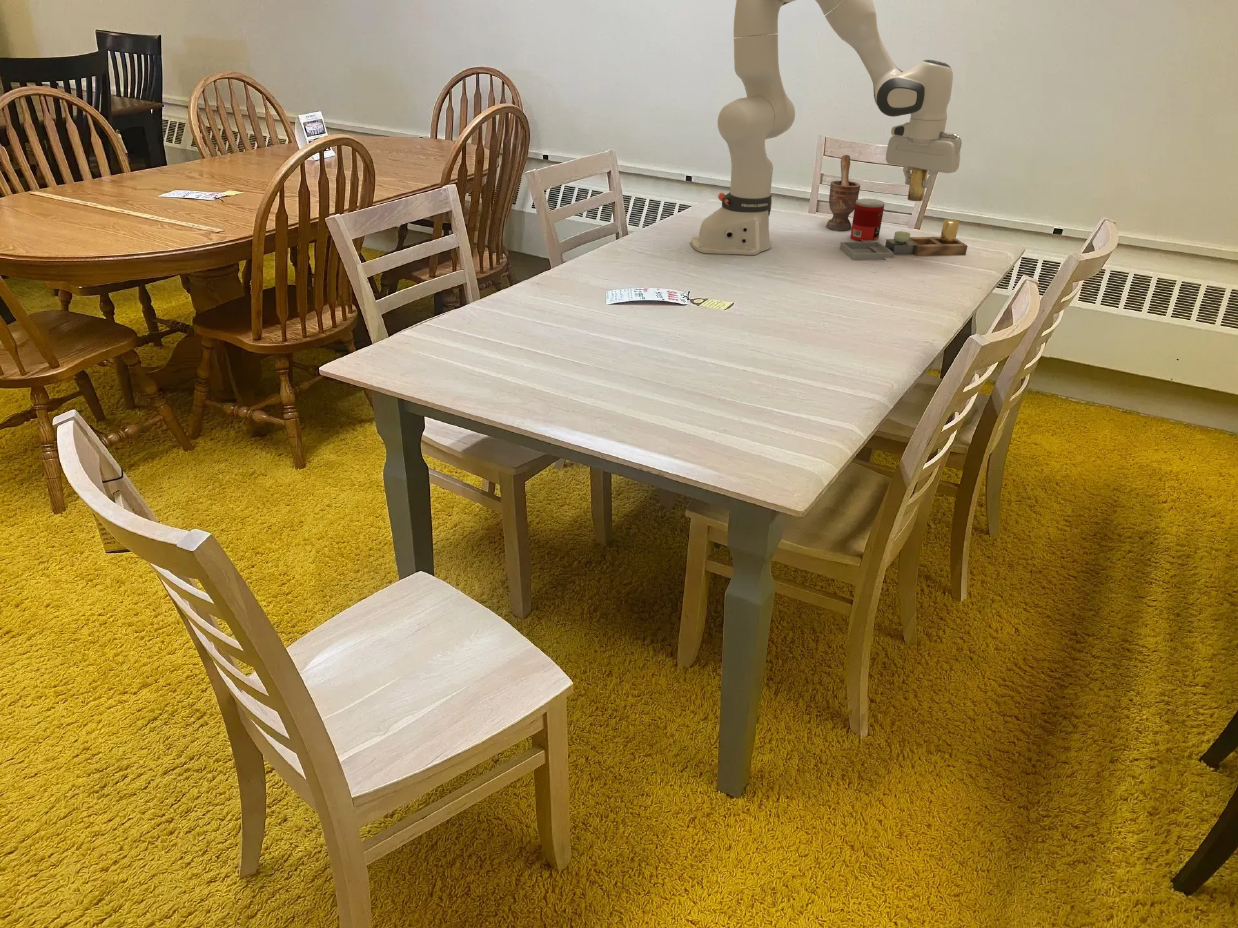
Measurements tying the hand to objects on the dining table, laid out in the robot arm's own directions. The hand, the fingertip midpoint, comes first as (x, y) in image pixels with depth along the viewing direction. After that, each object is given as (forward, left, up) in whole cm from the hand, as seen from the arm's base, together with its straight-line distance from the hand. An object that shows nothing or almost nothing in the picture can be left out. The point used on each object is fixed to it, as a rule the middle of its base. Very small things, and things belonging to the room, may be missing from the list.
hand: (917, 186), depth 220 cm
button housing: (-2, 0, -18) cm, 19 cm away
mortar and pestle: (-9, +30, -19) cm, 36 cm away
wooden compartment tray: (+8, 0, -18) cm, 20 cm away
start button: (-2, 0, -17) cm, 17 cm away
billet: (0, 0, -4) cm, 4 cm away
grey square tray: (-11, 0, -18) cm, 22 cm away
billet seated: (+12, 0, -17) cm, 21 cm away
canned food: (-6, +15, -19) cm, 24 cm away
